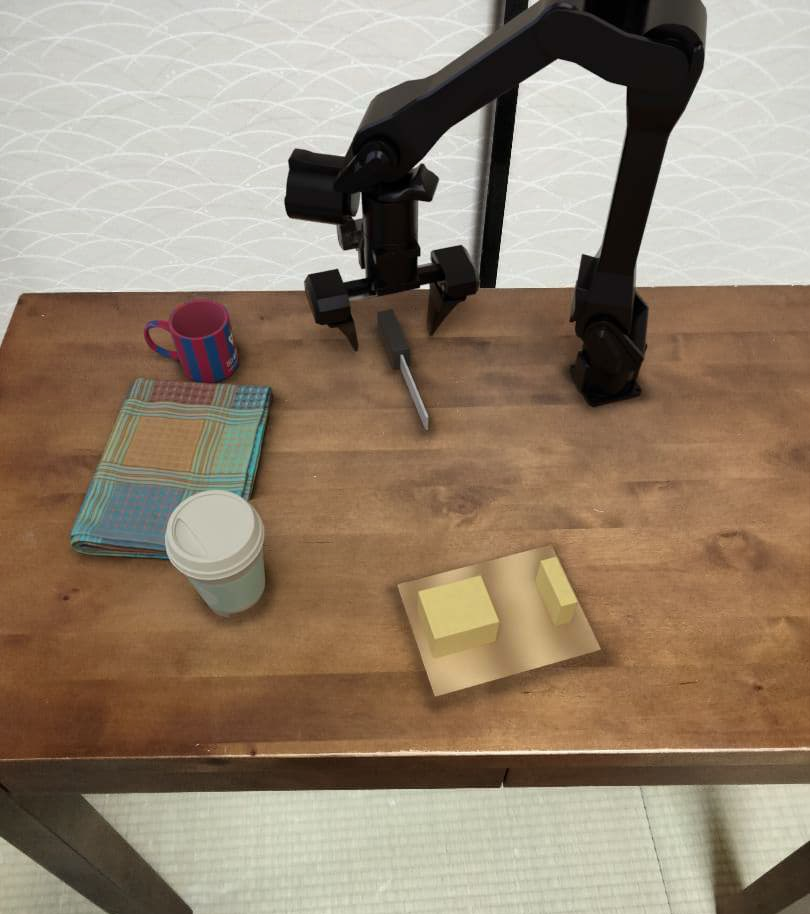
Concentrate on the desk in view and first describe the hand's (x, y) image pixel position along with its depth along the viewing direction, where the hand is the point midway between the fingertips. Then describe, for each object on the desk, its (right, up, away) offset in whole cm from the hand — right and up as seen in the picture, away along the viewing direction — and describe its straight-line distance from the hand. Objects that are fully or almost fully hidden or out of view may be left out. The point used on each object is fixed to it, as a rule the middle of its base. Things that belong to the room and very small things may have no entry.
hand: (392, 341), depth 97 cm
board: (+10, -32, -20) cm, 39 cm away
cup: (-23, -3, 0) cm, 23 cm away
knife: (+2, -5, -2) cm, 5 cm away
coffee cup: (-15, -29, -17) cm, 37 cm away
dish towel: (-23, -16, -9) cm, 29 cm away
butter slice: (+15, -30, -20) cm, 39 cm away
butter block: (+6, -32, -21) cm, 39 cm away
